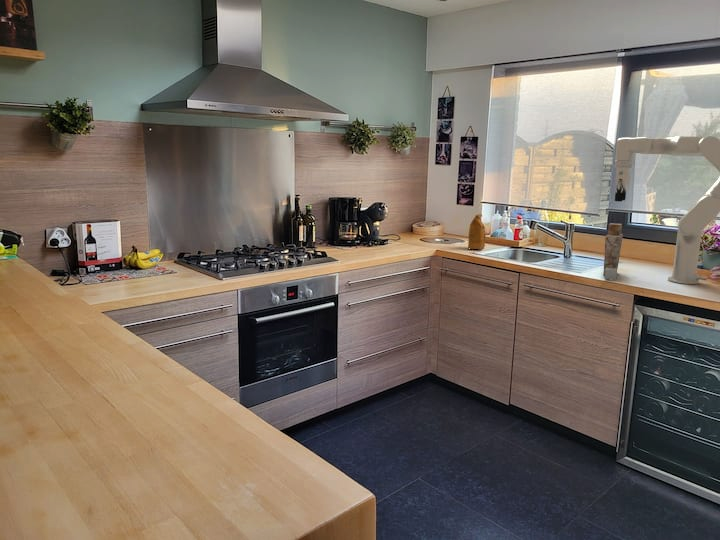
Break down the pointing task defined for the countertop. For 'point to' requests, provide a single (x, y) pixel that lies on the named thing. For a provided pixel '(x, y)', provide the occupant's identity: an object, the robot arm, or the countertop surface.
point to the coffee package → (477, 234)
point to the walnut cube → (614, 229)
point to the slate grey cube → (610, 273)
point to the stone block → (612, 251)
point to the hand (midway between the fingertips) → (620, 200)
